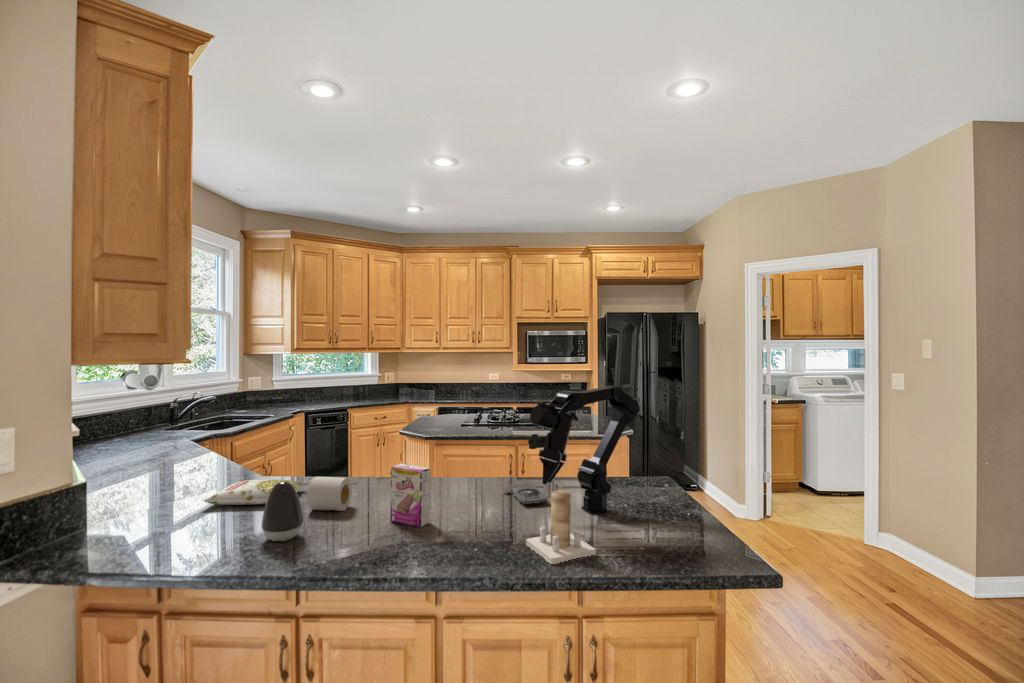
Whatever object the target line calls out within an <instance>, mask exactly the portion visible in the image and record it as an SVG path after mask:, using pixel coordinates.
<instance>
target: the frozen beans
mask: <svg viewBox="0 0 1024 683" xmlns="http://www.w3.org/2000/svg"><path fill="white" fill-rule="evenodd" d="M283 481H285V482H289V483H291V484H292V485H293V486H294V488H295V490H296V491H297V490H299V489H300V488H301V487H302V486H304V485H305V483H302V482H298V481H295V480H290V479H251V480H250V479H247V480H241V481H237V482H235V483H233V484H230V485H229V486H227V487H225V488H223V489H221V490H220V491H219V492H216V493H214V494H212V495H210V496H209V497H207V498H205V499H202V500H201V501H202V502H203V501H204V502H205V503H207V504H209V505H210V504H211V505H217V506H218V505H222V506H227V505H228V506H229V505H231V506H232V505H233V506H234V505H235V506H236V505H237V506H239V505H240V506H241V505H242V506H243V505H245V506H247V505H250V506H251V505H266V502H267V499H268V496H269V494H270V492H271V490H272V488H273V487H274V486H275V485H276V484H277V483H279V482H283Z"/></svg>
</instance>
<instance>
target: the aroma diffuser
mask: <svg viewBox="0 0 1024 683" xmlns="http://www.w3.org/2000/svg"><path fill="white" fill-rule="evenodd" d="M303 524H304V514H303V509H302V503H301V501H300V496H299V494H298V492H297V490H295V488H294V486H293V485H292V484H291V483H289V482H285V481H283V482H279V483H277V484H276V485H275V486H274V487H273V488H272V490H271V492H270V494H269V496H268V499H267V502H266V504H264V509H263V514H262V519H261V529H262V531H263V534H264V536H265V538H266V539H268V540H269V541H271V540H272V542H275V541H282V540H287V541H289V540H288V539H290V540H292V539H293V538H295V537H296V536H297V535H298V534H299V533H300V531H301V529H302V526H303ZM291 538H292V539H291ZM282 542H283V541H282Z"/></svg>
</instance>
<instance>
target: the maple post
mask: <svg viewBox="0 0 1024 683" xmlns="http://www.w3.org/2000/svg"><path fill="white" fill-rule="evenodd" d="M550 494H551V496H550V498H551V499H550V502H551V503H550V534H551V545H552V546H553V536H559V548H566V547H569V546H570V533H571V517H572V516H571V510H572V509H571V505H572V502H571V499H572V498H571V497H572V494H571V492H569V491H566V490H554V491H552V492H551V493H550Z"/></svg>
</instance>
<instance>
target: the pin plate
mask: <svg viewBox="0 0 1024 683" xmlns="http://www.w3.org/2000/svg"><path fill="white" fill-rule="evenodd" d="M581 537H582V533H581V531H574V534H573V533H571V532H570V546H569V547H566V548H559V536H553V546H552V545H551V533H550V534H547V527H545V526H540V527H539V536H536V537H535V536H534V537H529V538H525V545H526V546H527V547H528V548H529V547H530V548H529V549H530V550H532V551H533V550H534V551H535V552H534V551H533V552H534V553H535V554H537V553H538V554H539V555H540V556H539V555H538V554H537V555H538V556H539V557H541V556H542V557H543V558H544V559H545V562H547V563H548V562H549V563H550V565H551V564H553V565H556V564H560V562H562V563H565V562H564V561H566V562H569V561H568V560H571V559H576V558H580V557H585V556H586V557H585V558H588V557H587V556H589V557H592V556H591V555H594V556H596V555H597V552H596V550H597V549H596V548H595V547H593V546H592V545H590V544H588V543H587V542H586V541H584V540H582V539H581ZM542 557H541V558H542ZM543 558H542V559H543ZM544 559H543V560H544ZM580 559H581V558H580ZM576 560H577V559H576ZM571 561H572V560H571ZM549 563H548V564H549Z"/></svg>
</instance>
